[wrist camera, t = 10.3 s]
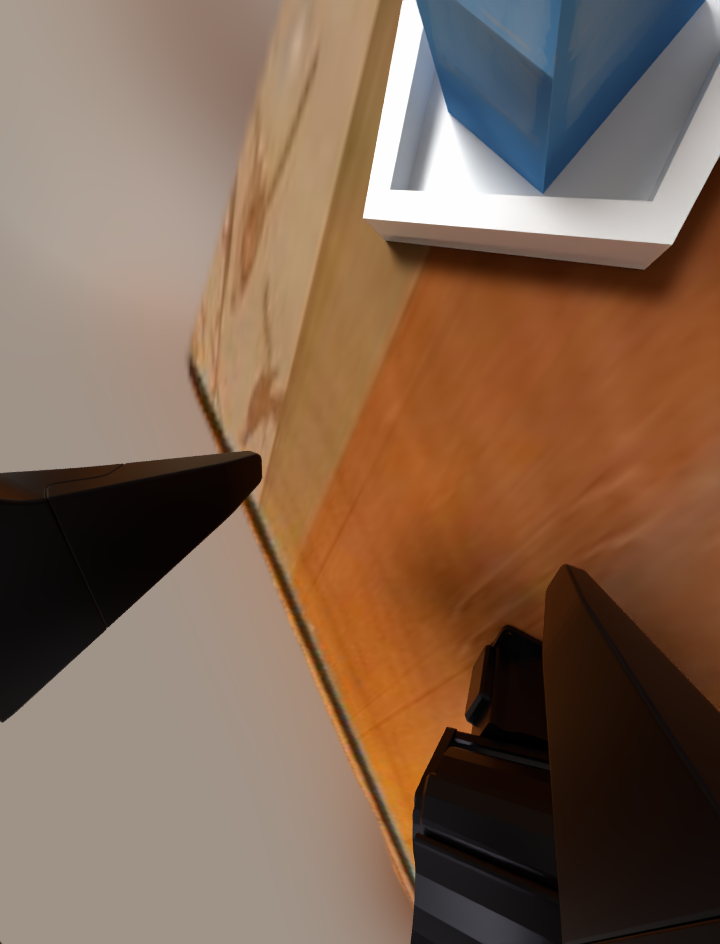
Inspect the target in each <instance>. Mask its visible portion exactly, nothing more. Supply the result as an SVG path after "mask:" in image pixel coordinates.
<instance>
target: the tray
mask: <svg viewBox="0 0 720 944" xmlns="http://www.w3.org/2000/svg"><path fill="white" fill-rule="evenodd" d="M719 156H720V0H706V1H705V2H704V3H703V4H702V5H701V7H700V8H699V9H698V10H697V11H696V13H695V14H694V15H693V16H692V17H691V19H690V20H689V21H688V22H687V23H686V25H685V26H684V27H683V28H682V29H681V30H680V32H679V33H678V34H677V35H676V36H675V38H674V39H673V40H672V41H671V42H670V44H669V45H668V46H667V47H666V48H665V49H664V51H663V52H662V53H661V54H660V55H659V57H658V58H657V59H656V60H655V61H654V63H653V64H652V65H651V66H650V67H649V68H648V70H647V71H646V72H645V73H644V74H643V76H642V77H641V78H640V79H639V80H638V82H637V83H636V84H635V85H634V86H633V87H632V89H631V90H630V91H629V92H628V93H627V95H626V96H625V97H624V98H623V99H622V101H621V102H620V103H619V104H618V105H617V107H616V108H615V109H614V110H613V111H612V112H611V114H610V115H609V116H608V117H607V118H606V120H605V121H604V122H603V123H602V124H601V126H600V127H599V128H598V129H597V130H596V131H595V133H594V134H593V135H592V136H591V137H590V139H589V140H588V141H587V142H586V143H585V145H584V146H583V147H582V148H581V149H580V150H579V152H578V153H577V154H576V155H575V156H574V158H573V159H572V160H571V161H570V162H569V164H568V165H567V166H566V167H565V168H564V169H563V171H562V172H561V173H560V174H559V175H558V177H557V178H556V179H555V180H554V181H553V183H552V184H551V185H550V186H549V187H548V189H547V190H546V191H545V192H544V193H543V194H542V193H541V192H539V191H538V190H537V189H536V188H535V187H534V186H533V185H531V184H530V183H529V182H528V181H527V180H526V179H525V178H523V177H522V176H521V175H520V174H519V173H518V172H516V171H515V170H514V169H513V168H512V167H511V166H510V165H508V164H507V163H506V162H505V161H504V160H503V159H502V158H500V157H499V156H498V155H497V154H496V153H495V152H494V151H492V150H491V149H490V148H489V147H488V146H487V145H486V144H484V143H483V142H482V141H481V140H480V139H479V138H477V137H476V136H475V135H474V134H473V133H472V132H471V131H469V130H468V129H467V128H466V127H465V126H464V125H463V124H461V123H460V122H459V121H458V120H457V119H456V118H455V117H453V116H452V115H451V114H450V113H449V112H448V110H447V106H446V103H445V99H444V96H443V93H442V89H441V86H440V82H439V79H438V75H437V72H436V68H435V65H434V61H433V58H432V55H431V51H430V48H429V44H428V41H427V37H426V34H425V30H424V27H423V24H422V20H421V17H420V13H419V10H418V6H417V3H416V0H403V2H402V7H401V12H400V18H399V23H398V29H397V34H396V40H395V45H394V51H393V56H392V62H391V67H390V73H389V78H388V83H387V89H386V94H385V100H384V105H383V111H382V116H381V122H380V127H379V133H378V138H377V144H376V149H375V155H374V160H373V165H372V171H371V176H370V182H369V187H368V193H367V198H366V204H365V209H364V215H363V219H364V220H365V221H366V222H367V223H368V224H369V225H370V226H371V227H372V228H373V229H374V230H375V231H376V232H377V233H378V234H379V235H380V236H381V237H382V238H383V239H384V240H385V241H393V242H402V243H411V244H420V245H429V246H438V247H447V248H456V249H465V250H474V251H483V252H492V253H501V254H509V255H518V256H527V257H536V258H545V259H554V260H563V261H572V262H581V263H590V264H599V265H608V266H617V267H625V268H634V269H643V270H645V269H646V268H647V267H648V266H649V265H650V264H651V263H653V262H654V261H655V260H656V259H657V258H658V257H659V256H660V255H661V254H663V253H664V252H665V251H666V250H667V249H668V248H669V247H670V246H671V245H672V244H673V242H674V241H675V239H676V237H677V235H678V233H679V231H680V229H681V227H682V225H683V224H684V222H685V220H686V218H687V216H688V214H689V212H690V210H691V208H692V207H693V205H694V203H695V201H696V199H697V197H698V195H699V193H700V191H701V190H702V188H703V186H704V184H705V182H706V180H707V178H708V176H709V174H710V173H711V171H712V169H713V167H714V165H715V163H716V161H717V159H718V157H719Z"/></svg>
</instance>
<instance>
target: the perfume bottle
mask: <svg viewBox="0 0 720 944" xmlns="http://www.w3.org/2000/svg"><path fill="white" fill-rule="evenodd" d="M705 1H706V0H416V3H417V6H418V10H419V13H420V17H421V20H422V24H423V27H424V30H425V34H426V37H427V41H428V44H429V48H430V51H431V55H432V58H433V61H434V65H435V68H436V72H437V75H438V79H439V82H440V86H441V89H442V93H443V96H444V99H445V103H446V106H447V110H448V112H449V113H450V114H451V115H452V116H453V117H455V118H456V119H457V120H458V121H459V122H460V123H461V124H463V125H464V126H465V127H466V128H467V129H468V130H469V131H471V132H472V133H473V134H474V135H475V136H476V137H477V138H479V139H480V140H481V141H482V142H483V143H484V144H486V145H487V146H488V147H489V148H490V149H491V150H492V151H494V152H495V153H496V154H497V155H498V156H499V157H500V158H502V159H503V160H504V161H505V162H506V163H507V164H508V165H510V166H511V167H512V168H513V169H514V170H515V171H516V172H518V173H519V174H520V175H521V176H522V177H523V178H525V179H526V180H527V181H528V182H529V183H530V184H531V185H533V186H534V187H535V188H536V189H537V190H538V191H539V192H541V193H542V194H543V193H544V192H545V191H546V190H547V189H548V187H549V186H550V185H551V184H552V183H553V181H554V180H555V179H556V178H557V177H558V175H559V174H560V173H561V172H562V171H563V169H564V168H565V167H566V166H567V165H568V164H569V162H570V161H571V160H572V159H573V158H574V156H575V155H576V154H577V153H578V152H579V150H580V149H581V148H582V147H583V146H584V145H585V143H586V142H587V141H588V140H589V139H590V137H591V136H592V135H593V134H594V133H595V131H596V130H597V129H598V128H599V127H600V126H601V124H602V123H603V122H604V121H605V120H606V118H607V117H608V116H609V115H610V114H611V112H612V111H613V110H614V109H615V108H616V107H617V105H618V104H619V103H620V102H621V101H622V99H623V98H624V97H625V96H626V95H627V93H628V92H629V91H630V90H631V89H632V87H633V86H634V85H635V84H636V83H637V82H638V80H639V79H640V78H641V77H642V76H643V74H644V73H645V72H646V71H647V70H648V68H649V67H650V66H651V65H652V64H653V63H654V61H655V60H656V59H657V58H658V57H659V55H660V54H661V53H662V52H663V51H664V49H665V48H666V47H667V46H668V45H669V44H670V42H671V41H672V40H673V39H674V38H675V36H676V35H677V34H678V33H679V32H680V30H681V29H682V28H683V27H684V26H685V25H686V23H687V22H688V21H689V20H690V19H691V17H692V16H693V15H694V14H695V13H696V11H697V10H698V9H699V8H700V7H701V5H702V4H703V3H704V2H705Z"/></svg>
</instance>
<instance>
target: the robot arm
mask: <svg viewBox="0 0 720 944" xmlns="http://www.w3.org/2000/svg"><path fill="white" fill-rule="evenodd" d="M261 479H262V459H261V456H260V455H259V454H257V453H254V452H251V451H242V452H232V453H222V454H212V455H203V456H193V457H183V458H174V459H163V460H153V461H144V462H134V463H126V464H115V465H104V466H94V467H83V468H82V467H81V468H68V469H55V470H40V471H24V472H9V473H0V722H4V721H6V720H7V719H8V718H10V717H11V716H12V715H13V714H14V713H15V712H17V711H18V710H19V709H20V708H21V707H22V706H23V705H24V704H25V703H27V702H28V701H29V700H30V699H31V698H32V697H33V696H34V695H35V694H36V693H37V692H38V691H40V690H41V689H42V688H43V687H44V686H45V685H46V684H47V683H48V682H49V681H51V680H52V679H53V678H54V677H55V676H56V675H57V674H58V673H59V672H60V671H61V670H62V669H64V668H65V667H66V666H67V665H68V664H69V663H70V662H71V661H72V660H73V659H75V658H76V657H77V656H78V655H79V654H80V653H81V652H82V651H83V650H84V649H86V648H87V647H88V646H89V645H90V644H91V643H92V642H93V641H94V640H95V639H96V638H97V637H99V636H100V635H101V634H102V633H103V632H104V631H105V630H106V628H108V627H109V626H110V625H111V624H112V623H114V622H115V621H116V620H117V619H118V618H119V617H120V616H121V615H122V614H123V613H125V612H126V610H128V609H129V608H130V607H131V606H132V605H133V604H134V603H135V602H137V601H138V600H139V599H140V598H141V597H142V596H143V595H144V594H145V593H146V592H147V591H149V590H150V589H151V588H152V587H153V586H154V585H155V584H156V583H157V582H158V581H160V580H161V579H162V578H163V577H164V576H165V575H166V574H167V573H168V572H169V571H170V570H172V569H173V568H174V567H175V566H176V565H177V564H178V563H179V562H180V561H181V560H182V559H184V557H186V556H187V555H188V554H189V553H190V552H191V551H192V550H193V549H194V548H196V546H198V545H199V544H200V543H201V542H202V541H203V540H204V539H205V538H207V537H208V536H209V535H210V534H211V533H212V532H213V531H214V530H215V529H216V528H217V527H219V526H220V525H221V524H222V523H223V522H224V521H225V520H226V519H227V518H228V517H229V516H230V515H231V514H232V513H233V512H234V511H235V510H236V509H237V508H238V507H239V506H240V505H241V503H242V502H243V501H244V500H245V499H246V498H247V497H248V496H249V495H250V493H251V492H252V491H253V490H254V489H255V488H256V487H257V486H258V484H259V483H260V482H261ZM507 633H511V634H513V635H509V634H507ZM465 717H466V720H467V721H468V722H469V723H471V724H472V725H473V727H472V733H471V734H469V733H464V732H460V731H457V729H455V728H450V727H447V728H446V730H445V732H444V734H443V736H442V738H441V740H440V742H439V744H438V746H437V748H436V750H435V752H434V754H433V756H432V758H431V760H430V762H429V764H428V766H427V768H426V770H425V772H424V774H423V776H422V779H421V781H420V784H419V786H418V788H417V790H416V792H415V799H414V805H415V806H414V810H413V852H414V859H415V872H416V873H415V901H414V915H413V926H412V936H411V944H720V712H719V711H718V710H717V709H716V708H715V707H714V706H713V705H712V704H711V703H710V702H709V701H708V700H707V699H706V698H705V697H704V696H703V694H702V693H701V692H700V691H699V690H698V689H697V688H696V687H695V686H694V685H693V684H692V683H691V682H690V681H689V680H688V679H687V678H686V677H685V676H684V674H683V673H682V672H681V671H680V670H679V669H678V668H677V667H676V666H675V665H674V664H673V663H672V662H671V661H670V660H669V659H668V658H667V657H666V656H665V654H664V653H663V652H662V651H661V650H660V649H659V648H658V647H657V646H656V645H655V644H654V643H653V642H652V641H651V640H650V639H649V638H648V637H647V636H646V634H645V633H644V632H643V631H642V630H641V629H640V628H639V627H638V626H637V625H636V624H635V623H634V622H633V621H632V620H631V619H630V618H629V617H628V616H627V614H626V613H625V612H624V611H623V610H622V609H621V608H620V607H619V606H618V605H617V604H616V603H615V602H614V601H613V600H612V599H611V598H610V597H609V596H608V595H607V593H606V592H605V591H604V590H603V589H602V588H601V587H600V586H599V585H598V584H597V583H596V582H595V581H594V580H593V579H592V578H591V577H590V576H589V575H588V573H587V572H586V571H584V570H583V569H580V568H577V567H574V566H571V565H569V564H564V565H562V566H561V567H560V569H559V570H558V572H557V573H556V575H555V577H554V578H553V580H552V581H551V583H550V584H549V586H548V588H547V591H546V598H545V614H544V631H543V642H541V641H539V640H537V639H535V638H533V637H531V636H529V635H528V634H526V633H524V632H522V631H520V630H518V629H516V628H514V627H512V626H509V625H506V626H504V627H503V628H502V629H501V631H500V633H499V634H498V636H497V638H496V639H495V641H494V643H493V644H492V646H491V645H487V646H485V648H484V649H483V651H482V653H481V655H480V656H479V658H478V660H477V661H476V663H475V665H474V667H473V672H472V677H471V683H470V688H469V694H468V700H467V705H466V711H465ZM0 944H1V942H0Z"/></svg>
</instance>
